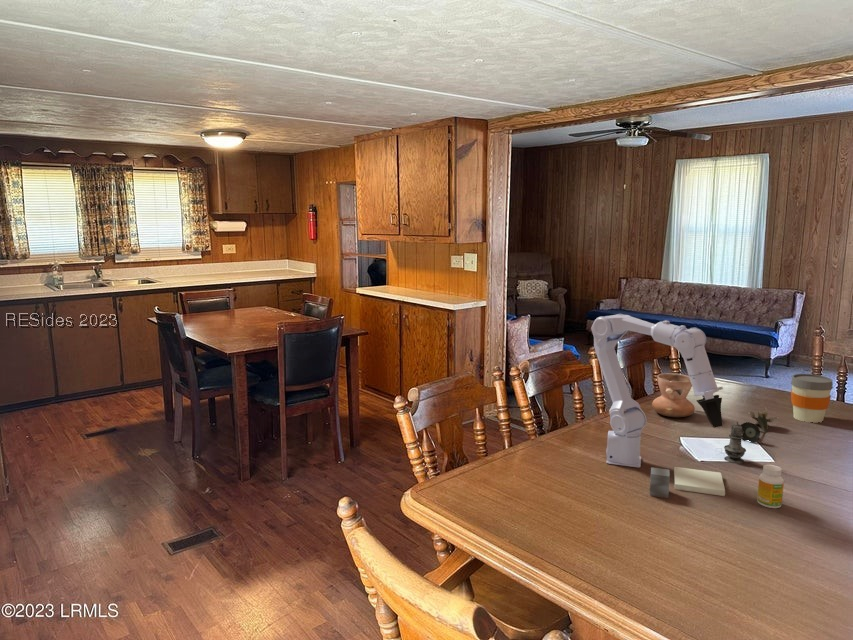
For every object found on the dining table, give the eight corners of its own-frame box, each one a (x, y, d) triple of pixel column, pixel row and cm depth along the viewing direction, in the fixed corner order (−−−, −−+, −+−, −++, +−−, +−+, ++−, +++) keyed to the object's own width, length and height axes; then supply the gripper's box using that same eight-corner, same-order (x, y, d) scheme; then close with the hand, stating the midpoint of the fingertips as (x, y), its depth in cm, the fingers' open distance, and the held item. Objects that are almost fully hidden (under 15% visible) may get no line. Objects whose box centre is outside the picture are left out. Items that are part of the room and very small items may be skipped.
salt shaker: (747, 464, 176) (751, 425, 174) (726, 463, 177) (729, 424, 175) (741, 456, 181) (744, 418, 179) (720, 455, 182) (723, 417, 180)
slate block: (649, 495, 157) (651, 474, 156) (649, 488, 161) (651, 467, 160) (668, 498, 155) (669, 476, 154) (668, 491, 159) (669, 469, 158)
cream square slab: (674, 491, 160) (675, 484, 160) (673, 473, 171) (674, 466, 171) (724, 498, 156) (725, 490, 156) (720, 479, 167) (720, 472, 167)
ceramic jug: (687, 424, 210) (690, 385, 208) (645, 416, 219) (648, 378, 216) (699, 412, 224) (702, 375, 222) (659, 404, 233) (662, 369, 231)
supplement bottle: (772, 510, 148) (776, 473, 146) (752, 501, 153) (755, 465, 151) (786, 505, 150) (789, 469, 149) (765, 497, 155) (768, 461, 153)
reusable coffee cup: (789, 411, 224) (793, 371, 221) (829, 417, 216) (834, 376, 214) (785, 420, 214) (789, 379, 211) (828, 427, 206) (832, 384, 204)
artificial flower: (732, 443, 196) (727, 412, 198) (759, 434, 211) (754, 406, 212) (761, 443, 190) (755, 411, 191) (786, 434, 205) (781, 404, 206)
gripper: (719, 370, 148) (736, 424, 146) (714, 369, 162) (730, 419, 159) (689, 377, 151) (705, 430, 148) (687, 376, 164) (702, 425, 162)
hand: (716, 425), depth 154 cm, fingers open, 7 cm apart
